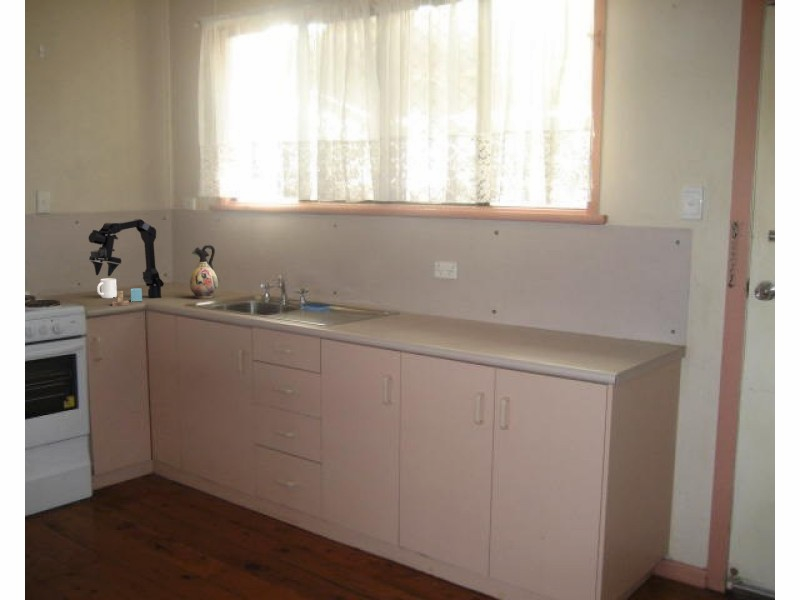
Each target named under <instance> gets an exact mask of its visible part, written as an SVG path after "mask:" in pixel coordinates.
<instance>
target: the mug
mask: <svg viewBox="0 0 800 600" xmlns="http://www.w3.org/2000/svg"><path fill="white" fill-rule="evenodd" d="M96 292H97V294H98V295H100V296H101V298H103V299H114V298H113V297H115V298H118V288H117V278H111V277H110V278H109V277H108V278H107V277H106V278H101V279H100V282H99V283H98V284H97V287H96Z"/></svg>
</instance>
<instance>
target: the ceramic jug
mask: <svg viewBox="0 0 800 600" xmlns="http://www.w3.org/2000/svg"><path fill="white" fill-rule="evenodd" d="M208 249H210V250H211V255H210V254H209V252H208V251H207V250H208ZM215 251H216V250H215V247H214V246H213V245H212V244H205V245H204V246H202V248H200V247H198V246H197V247H195V249H194V250H193V251H192V252H191V254H193V255H194V256H195V255H196V256H197V257H199V262H198V263H197V265H196V266H195V268H194V270H193V271H192V273H191V275H190V279H189V287H190V290H191V292H192V293H193V294H194V295H195V298H196V299H198V298H199V299H198V300H202V299H204V300H205V299H206V298H207V299H212V298H214V295H215V293H216V292H217V290H218V288H219V280H218V276H217V274H216V272H215V270H214V265H213V261H214V257H215V254H216V253H215ZM209 256H210V257H209ZM208 257H209V260H208V259H207V258H208Z"/></svg>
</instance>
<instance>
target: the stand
mask: <svg viewBox="0 0 800 600" xmlns="http://www.w3.org/2000/svg"><path fill="white" fill-rule="evenodd" d="M120 306H126V307H127V306H130V301H129V300H124V291H123V290H117V300H112V307H120Z"/></svg>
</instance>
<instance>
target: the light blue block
mask: <svg viewBox="0 0 800 600" xmlns="http://www.w3.org/2000/svg"><path fill="white" fill-rule="evenodd" d="M130 301H131V303H133V302H132V301H142V302H143V290H142V287H141V288H139V287H138V288H137V287H135V288H130Z"/></svg>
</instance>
